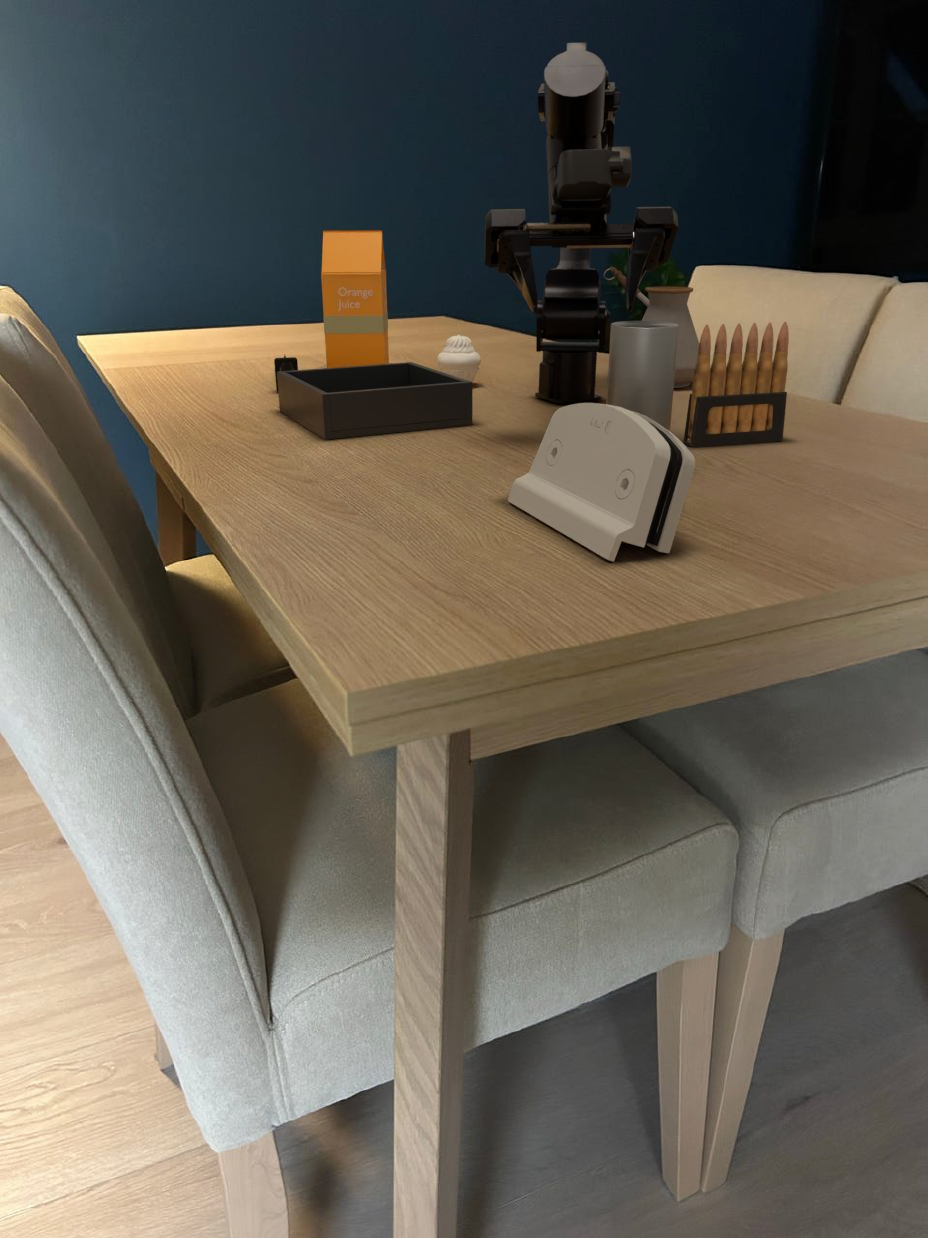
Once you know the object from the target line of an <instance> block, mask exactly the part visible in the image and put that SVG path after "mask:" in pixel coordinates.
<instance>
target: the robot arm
mask: <svg viewBox="0 0 928 1238" xmlns="http://www.w3.org/2000/svg"><path fill="white" fill-rule="evenodd" d="M606 67H607V66H606V65H605V64H604V61H603V60H602V59H601V58H600V56H598V55H597V54H595V53H593V52H591V51H589V50H588V42H587V41H586V42H585V41H584V42H583V41H582V42H566V49H565V51H563V52H561V53H559V54H557V55H556V56H554V57H553V58H552V59H550V60H549V62H548V63H547V65H546V67H545V68H544V71H543V83H541V84H540V86H539V88H538V90H537V107H538V108H537V110H538V116H539V120H540V122H544V125H545V131H546V133H547V136H546V139H545V159H546V182H547V183H546V184H547V202H548V203H547V204H548V205H547V206H548V222H527V216H526V215H527V214H526V212H527V211H526V209H525V208H511V209H510V208H505V209H504V208H502V209H496V208H495V209H490V210H489V211H488V212H487V213H486V215H485V216H484V265H485V266H487V267H488V268H491V269H497V271H498V272H499V273H500V274H505V275H507V276H509V278H510V279H511V280H512V281H513V283H514V284H515V285H516V286H517V288H518V289H519V291H520V293H521V294H522V296H523V298H524V300H525V301H526V304H527V305H528V307H529V309H530V311H531V312H532V314H536V321H535V322H536V323H535V324H536V325H535V326H536V328H535V329H536V332H535V333H536V336H535V341H536V342H535V343H536V349H535V350H536V353H537V352H538V353H540V352H542V361H540V362H539V367H538V368H539V369H538V372H539V373H538V375H539V376H538V392H535V393H534V397H536V398H540V399H543V400H545V401H548V402H552V403H555V404H559V405H564V404H577V403H587V402H596V401H602V395H598V394H596V379H597V378H596V377H597V359H598V353H600V354H601V353H604V352H608V351H609V349H610V332H611V318H612V317H611V315H612V314H611V313H610V311H609V310H608V307H607V306H606V303H607V302H606V300H603V301H601V286H602V285H601V284H602V283H601V281H600V274H599V272H598V270H597V269H596V268H592V267H591V265H590V264H591V249H623V248H624V249H625V248H626V249H627V255H628V256H627V257H628V261H627V265H626V270H625V271H626V273H625V277H626V288H625V307H626V312H627V313H632V311H633V307H634V304H635V299H636V292H637V289H639V286H640V284H641V282H642V280H643V279H644V278H643V277H644V276H645V274H646V272H653V271H655V270H656V268H657V266H663V265H664V264H666V263H668V262H669V259H670V257H671V253H672V250H673V246H674V244H675V239H676V236H677V234H678V230H679V219H678V218H679V217H678V212H676V210H675V209H674V207H672V206H635V209H634V214H633V217H632V222H631V223H611V224H608V220H607V219H608V218H607V215H610V214H611V211H612V193H611V192H612V191H611V190H612V188H614V189H615V188H628V187H629V184H630V182H631V179H632V173H633V166H632V165H633V164H632V163H633V158H632V151H631V146H614V140H615V139H614V137H615V123H616V122H615V120H616V119H615V118H616V112H617V111H618V110H619V109H620V107H621V106H620V105H621V91H619V90H618V89H617V86H615V85H616V82H614V81H609V71H608V70H607V68H606ZM531 247H551V249H552V248H553V249H554V248H558V256H557V266H556V267H555V268H549V269H548V271H547V272H546V274H545V280H544V282H543V293H542V300H539V298H538V288H537V287H538V286H537V282H536V275H535V270H534V263H533V258H532V249H531ZM544 339H545V340H549V341H544ZM554 340H555V341H554ZM594 340H598V342H591V341H594ZM582 341H583V342H582ZM584 341H585V342H584ZM586 341H589V342H586Z"/></svg>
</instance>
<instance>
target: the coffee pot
mask: <svg viewBox="0 0 928 1238" xmlns="http://www.w3.org/2000/svg"><path fill="white" fill-rule="evenodd" d="M608 271H610V272H611V273H610V274H612V275H614V276H612V277H611V278H607V277H606V273H607V272H608ZM603 278H604V279H605V280H607V281H611V280H614V279H616V280H618V281H619V282H620V284H621V286H622V287H623V288H625V289H626V275H624V274H623V272H622V271H621V270H618V269H617V268H616V267H614V266H612V265H611V266H610V267H609V268H607V269H606V270H605V271H604V273H603ZM645 292H647V295H648V297H647V296H645V295H644V294H643V293H642V291H641V290H640V289H639V288H638V289H637V292H636V296H635V298H638V299H639V300H640V302H642V303H643V304H644V306H645V307H647V308H646V310H645V312H644V315H643V317H642V319H641V321H661V322H671V323H676V324H678V325H679V330H678V342H677V354H676V365H675V377H674V389H680V388H686V387H689V386H690V385H691V382H693V379H694V370H695V366H696V362H697V356H698V350H699V343H700V340H699V338H698V334H697V331H696V328H695V326H694V322H693V318H692V316H691V312H690V310H689V306H688V303H689V298H690V295H691V293H693V292H694V288H693V287H690V286H666V285H665V286H664V285H663V286H662V285H661V286H649V287H647V286H646V287H645Z"/></svg>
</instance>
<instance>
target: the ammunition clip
mask: <svg viewBox="0 0 928 1238" xmlns="http://www.w3.org/2000/svg"><path fill="white" fill-rule="evenodd" d="M758 331H759V330H758V325H757V323H756V322H753V323H752V325H751V327H750V328H749V332H748V335H747V338H746V342H745V351H744V355H743V346H744V345H743V344H744V338H743V337H744V336H743V329H742V324H741V323H737V325H736V326H735V329H734V331H733V334H732V336H731V337H732V338H731V342H730V348H729V354H728V361H727V347H728V336H727V335H728V334H727V328H726V326H725V324H724V323H722V324H721V325H720V326H719V329H718V332H717V334H716V337H715V343H714V351H713V355H712V362H711V351H712V350H711V348H712V339H711V330H710V327H709V325H708V324H705V325H704V327H703V329H702V332H701V334H700V339H699V350H698V356H697V362H696V366H695V370H694V379H693V381H692V391H691V393H690V394H689V398H688V405H687V411H686V412H687V413H686V419H685V427H684V435H683V442H682V443H683V444H684V445H687V446H689V447H691V448H700V447H714V446H727V445H728V446H729V445H742V444H755V443H770V442H782V441H783V439H784V430H785V429H784V428H785V421H786V409H787V398H788V397H787V396H788V395H787V394H788V392H787V391H786V384H787V376H788V370H789V369H788V368H789V365H788V355H789V339H790V337H789V335H790V333H789V326H788V323H787V321H783V323H782V325H781V327H780V329H779V332H778V335H777V339H776V345H775V351H774V337H775V336H774V329H773V324H772V322H768V323H767V325H766V327H765V330H764V332H763V334H762V339H761V345H760V351H759V332H758ZM758 351H759V354H758ZM758 355H759V357H758ZM773 355H774V356H773Z"/></svg>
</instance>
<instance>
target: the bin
mask: <svg viewBox="0 0 928 1238" xmlns="http://www.w3.org/2000/svg"><path fill="white" fill-rule="evenodd" d="M277 381H278V391H277V393H278V404H279V413H280V412H281V413H282V414H283V415H285V416H287V417H288V418H290V419H291V420H293V421H294V422H296V423H297V424H299V425H301V426H303V427H304V428H306V429H307V430H309V431H310V432H312V433H313V434H315V435H317V436H318V437H320V438H322V439H323V440H325V441H327V440H328V441H329V440H338V439H348V438H357V437H366V436H376V435H385V434H395V433H396V434H397V433H405V432H414V431H415V432H416V431H424V430H434V429H444V428H454V427H463V426H472V425H473V387H474V386H473V384H474V383H473V381H472V382H470V381H467V380H464V379H461V378H458V377H455V376H452V375H449V374H446V373H443V372H440V370H437V369H434V368H432V367H431V368H430V367H429V366H428V367H427V366H425V365H422V364H418V363H416V362H413V361H407V362H391V363H389V364H377V365H363V366H349V367H335V368H327V367H323V368H307V369H298V370H293V371H278V372H277Z"/></svg>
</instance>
